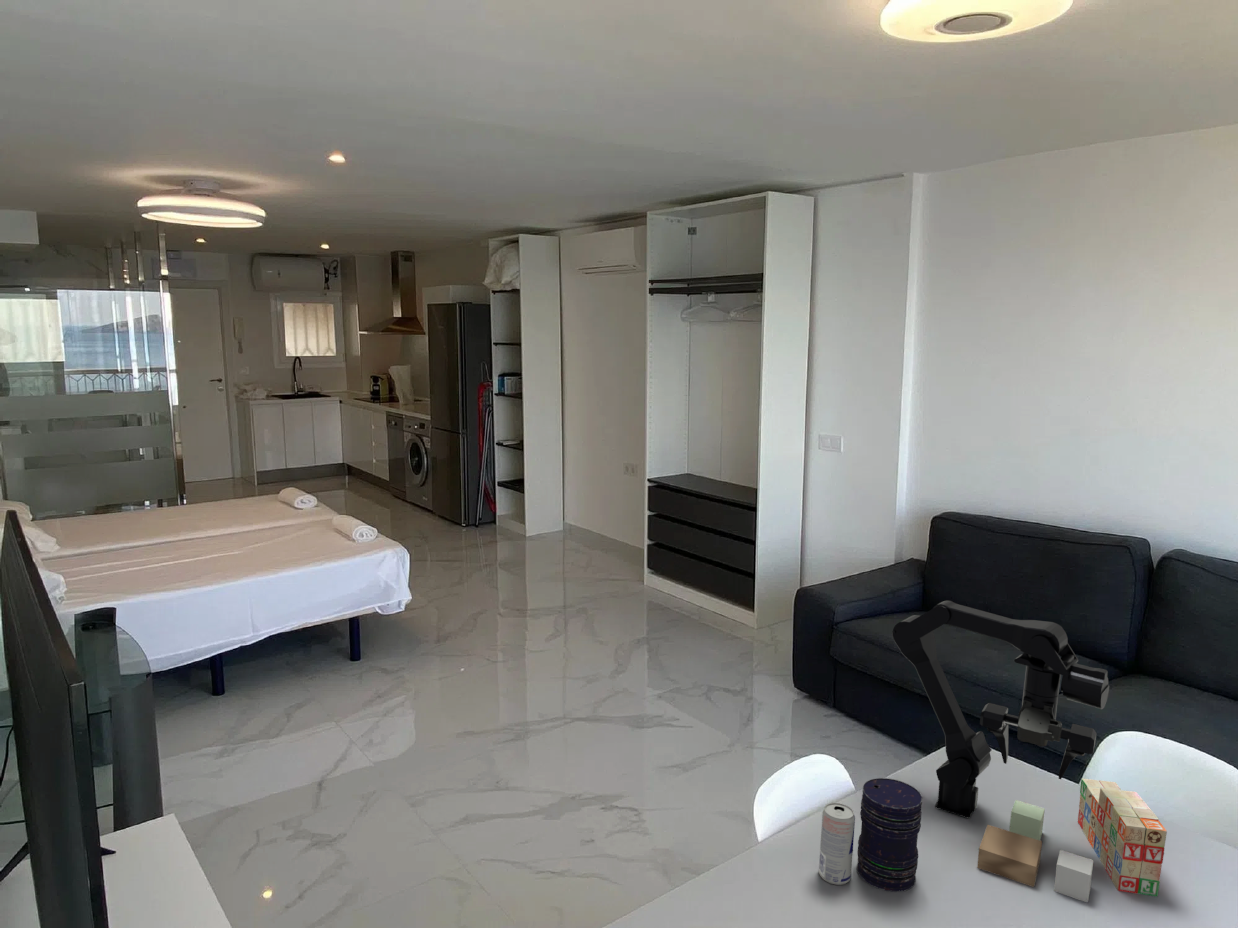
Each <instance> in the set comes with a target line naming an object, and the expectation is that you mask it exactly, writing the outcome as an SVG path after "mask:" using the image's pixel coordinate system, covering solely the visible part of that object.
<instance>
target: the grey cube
mask: <svg viewBox="0 0 1238 928" xmlns="http://www.w3.org/2000/svg"><path fill="white" fill-rule="evenodd" d="M1055 867H1056V869H1055V878H1054V888H1053V892H1056V893H1059V894H1061V895H1064V896H1067V897H1071V898H1073V899H1076V900H1079V901H1081V902H1084V903H1088V902H1089V898H1090V893H1091V888H1092V886H1091V885H1092V878H1093V867H1094V860H1093V859H1090V858H1089V857H1084V856H1081V855H1078V854H1075V853H1072V852H1068V851H1066V850H1062V849H1059V854H1058V857H1057V861H1056V866H1055Z"/></svg>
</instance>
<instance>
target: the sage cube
mask: <svg viewBox="0 0 1238 928" xmlns="http://www.w3.org/2000/svg"><path fill="white" fill-rule="evenodd" d="M1044 817H1045V808H1044V807H1041V806H1038V805H1035V804H1031V803H1027V802H1025V801H1024V802H1023V801H1021V800H1017V799H1015V800H1014V804H1013V807H1012V809H1011V811H1010V822H1009V830H1008V831H1010V832H1013V833H1017V834H1020V835H1023V836H1026V837H1030V838H1033V839H1036V840H1039V841H1041V837H1042V836H1043V835H1042V834H1043V826H1044V820H1045V818H1044Z"/></svg>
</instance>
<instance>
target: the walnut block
mask: <svg viewBox="0 0 1238 928" xmlns="http://www.w3.org/2000/svg"><path fill="white" fill-rule="evenodd" d="M986 825H987V826H986V827H985V830H984V834H983V836H982V839H981V842H980V844H979V848H978V856H977V869H980V870H983V871H986V872H989V873H992V874H995V875H997V876H1000V877H1003V878H1006V879H1009V880H1012V881H1014V882H1017V883H1021V884H1024V885H1026V886H1030V887H1032V888H1034V887H1035V884H1036V880H1037V877H1038V872H1039V867H1040V863H1041V858H1042V857H1041V855H1042V845H1043V841H1042V840H1040V841H1039V840H1036V839H1033V838H1030V837H1026V836H1023V835H1020V834H1017V833H1013V832H1010V831H1009V830H1007V829H1004V828H1001V827H997V826H993V825H990V824H986Z"/></svg>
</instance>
